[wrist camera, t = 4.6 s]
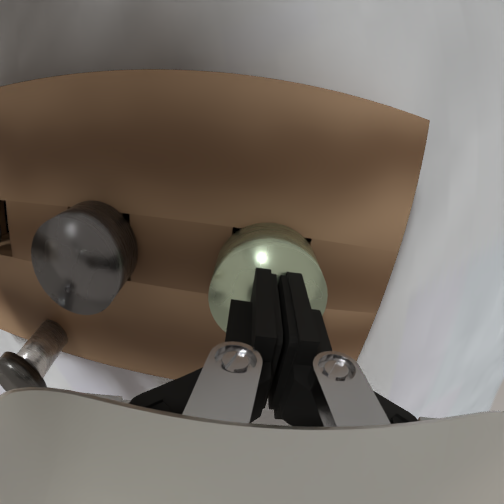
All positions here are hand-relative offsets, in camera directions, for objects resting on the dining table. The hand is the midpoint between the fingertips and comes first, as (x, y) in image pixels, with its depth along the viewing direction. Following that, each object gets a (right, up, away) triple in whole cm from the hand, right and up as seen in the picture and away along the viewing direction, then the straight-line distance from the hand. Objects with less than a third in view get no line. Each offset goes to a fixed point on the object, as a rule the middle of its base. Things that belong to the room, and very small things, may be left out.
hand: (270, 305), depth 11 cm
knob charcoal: (-8, +3, +4) cm, 10 cm away
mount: (-8, +3, +5) cm, 10 cm away
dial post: (-13, -3, +4) cm, 14 cm away
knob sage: (0, +2, +5) cm, 5 cm away
